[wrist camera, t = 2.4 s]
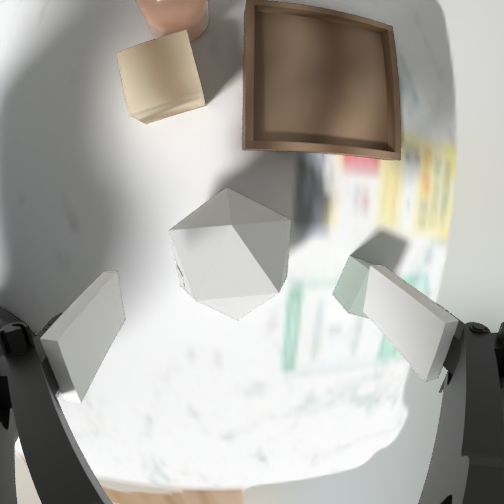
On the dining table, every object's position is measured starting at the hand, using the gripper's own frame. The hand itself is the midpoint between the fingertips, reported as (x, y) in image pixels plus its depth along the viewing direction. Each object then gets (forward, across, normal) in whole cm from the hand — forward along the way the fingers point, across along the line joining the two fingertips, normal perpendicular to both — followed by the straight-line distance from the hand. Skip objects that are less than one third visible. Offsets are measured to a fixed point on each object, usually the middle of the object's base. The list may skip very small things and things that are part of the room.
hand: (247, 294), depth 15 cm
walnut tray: (+11, -7, -14) cm, 19 cm away
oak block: (+11, +6, -13) cm, 18 cm away
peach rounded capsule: (+11, +5, -20) cm, 23 cm away
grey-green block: (+11, -11, +4) cm, 16 cm away
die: (+11, +1, 0) cm, 11 cm away
